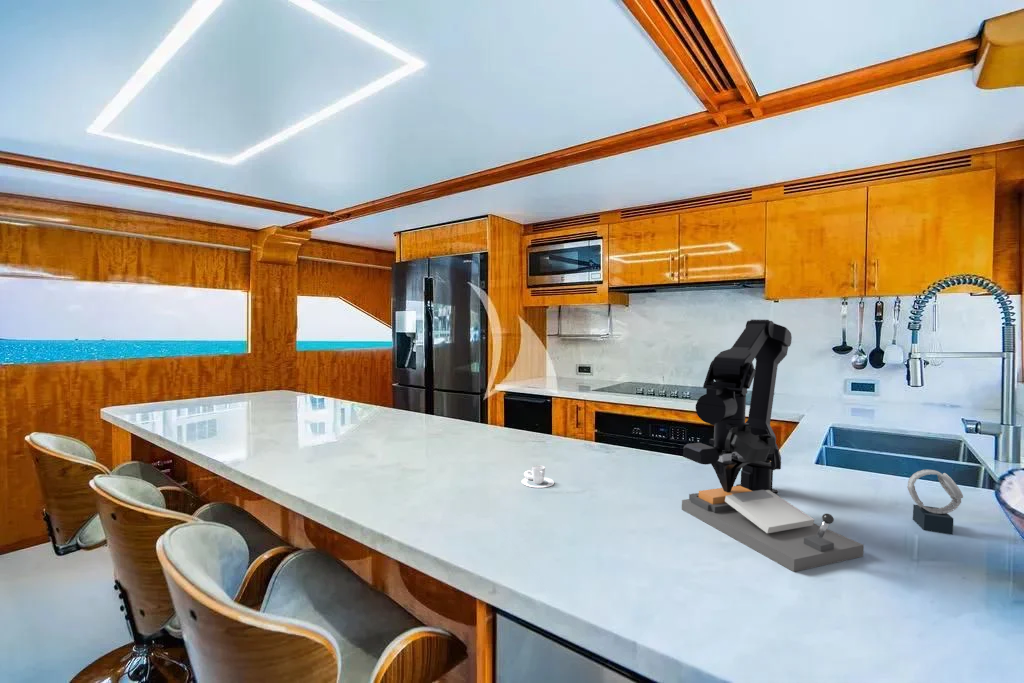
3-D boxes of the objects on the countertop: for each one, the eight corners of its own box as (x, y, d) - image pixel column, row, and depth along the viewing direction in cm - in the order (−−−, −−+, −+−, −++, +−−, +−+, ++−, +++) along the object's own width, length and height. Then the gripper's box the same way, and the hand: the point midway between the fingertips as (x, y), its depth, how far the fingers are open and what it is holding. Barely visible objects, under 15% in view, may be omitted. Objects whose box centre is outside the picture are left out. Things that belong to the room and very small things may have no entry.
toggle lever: (818, 533, 79) (828, 510, 78) (826, 540, 78) (837, 517, 76) (811, 534, 79) (821, 512, 77) (819, 541, 77) (830, 518, 76)
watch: (966, 536, 88) (969, 478, 87) (912, 528, 91) (915, 472, 91) (952, 525, 93) (955, 470, 93) (901, 517, 96) (904, 464, 96)
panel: (740, 500, 104) (741, 486, 104) (863, 556, 79) (864, 537, 79) (681, 509, 98) (682, 494, 98) (793, 571, 74) (794, 551, 74)
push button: (739, 494, 101) (739, 485, 101) (754, 501, 97) (755, 491, 97) (698, 500, 97) (698, 490, 97) (712, 507, 94) (713, 497, 93)
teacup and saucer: (521, 477, 119) (521, 461, 118) (553, 477, 118) (553, 461, 118) (521, 489, 110) (521, 472, 110) (555, 490, 110) (555, 472, 109)
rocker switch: (767, 495, 94) (769, 488, 94) (812, 525, 85) (814, 518, 85) (724, 501, 91) (726, 494, 90) (767, 533, 82) (769, 526, 81)
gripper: (724, 428, 86) (720, 512, 87) (798, 422, 92) (795, 500, 93) (682, 416, 96) (680, 491, 97) (752, 411, 103) (749, 482, 103)
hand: (727, 491), depth 97 cm, fingers closed, pressing on push button
